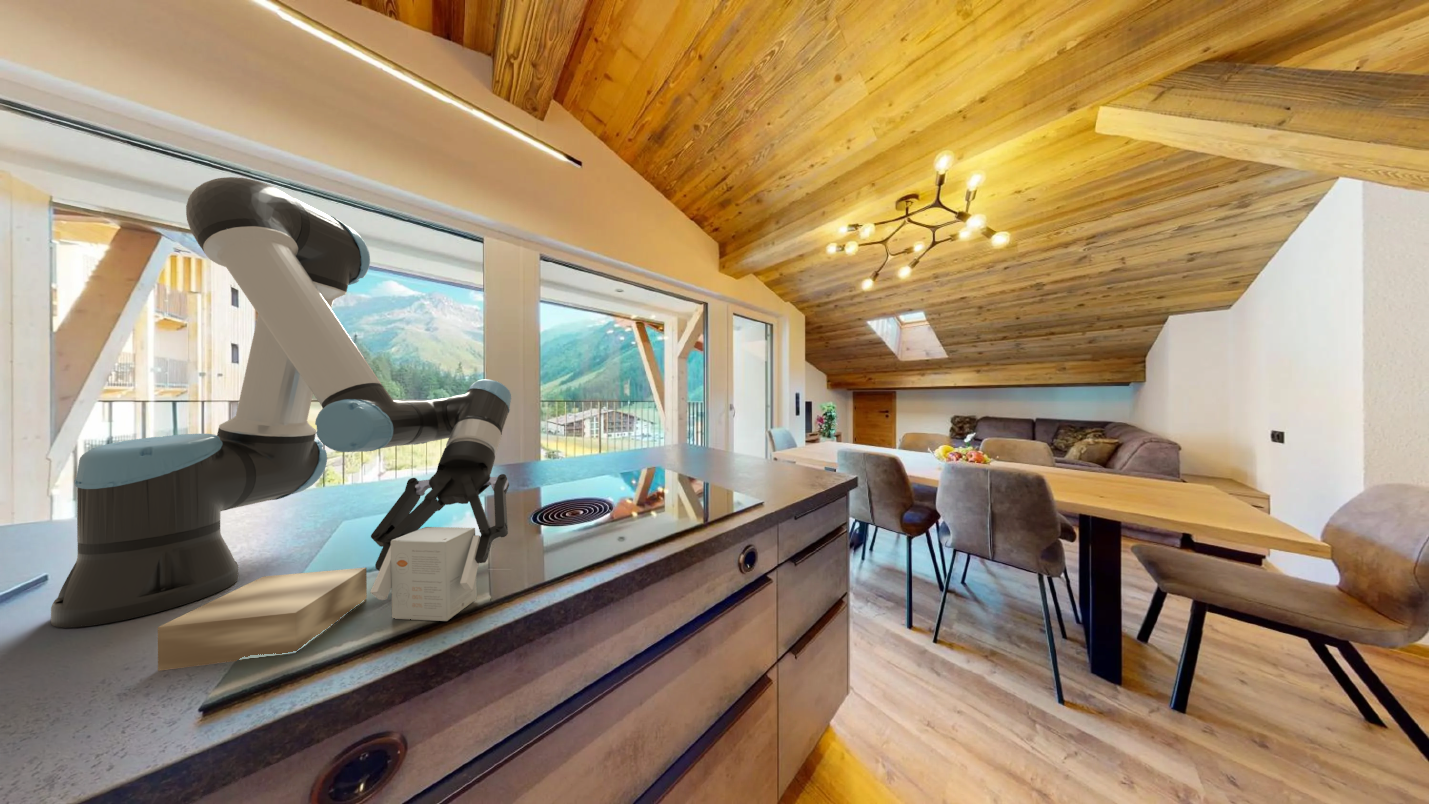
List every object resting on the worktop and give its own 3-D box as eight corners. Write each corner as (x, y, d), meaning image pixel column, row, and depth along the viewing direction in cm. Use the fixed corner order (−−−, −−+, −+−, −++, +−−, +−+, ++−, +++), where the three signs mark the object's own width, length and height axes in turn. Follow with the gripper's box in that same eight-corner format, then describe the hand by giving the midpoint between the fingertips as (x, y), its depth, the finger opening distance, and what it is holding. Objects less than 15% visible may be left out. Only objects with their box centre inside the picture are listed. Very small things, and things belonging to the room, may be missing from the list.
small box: (477, 600, 54) (477, 527, 54) (446, 622, 49) (446, 541, 49) (426, 597, 55) (426, 525, 55) (389, 619, 50) (389, 539, 50)
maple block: (263, 612, 52) (263, 576, 52) (366, 601, 55) (366, 567, 55) (157, 674, 40) (157, 627, 40) (296, 656, 43) (295, 612, 43)
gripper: (543, 463, 69) (520, 591, 54) (405, 468, 64) (336, 612, 49) (536, 436, 64) (510, 570, 49) (386, 440, 59) (302, 590, 44)
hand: (423, 591), depth 49 cm, fingers closed on small box, 9 cm apart
